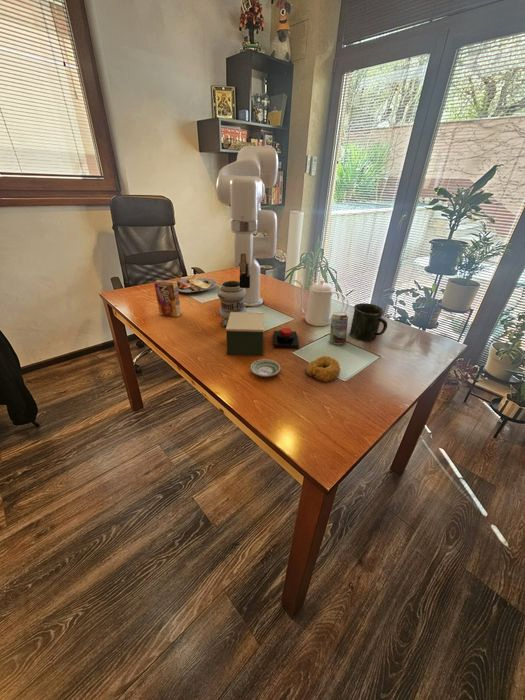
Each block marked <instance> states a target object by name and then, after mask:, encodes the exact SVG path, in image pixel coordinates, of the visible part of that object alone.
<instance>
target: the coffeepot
mask: <svg viewBox="0 0 525 700" xmlns="http://www.w3.org/2000/svg"><path fill="white" fill-rule="evenodd" d="M293 282H296V283H298V284H299V285H300V310H301V312H302V313H303V315H304V320H305V322H306V323H307V324H308V325H310V326H313V327H324V326H327V325H329V324H330V323H331V310H332V309H331V308H332V296H333V294H336V295H338V296H339V298H340V299H341V301H342V308H341V311H340V312H343V311H344V312H346V311H347V310H348V307H349V299H348V297H347V296H346V295H345V294H344V293H342V292H340V291H334V290H333V287H332V285H331V284H329V283H328V282H326V280H325V279H320V280H319V281H318V282H317V281H316V282H313V283H312V284H311V286H310V287H309V294H308V298H307V299H308V300H307V305H306V310H304V301H303V300H304V284H303V283H302V281H300V280H298V279H294V280H293ZM343 297H344V298H343ZM344 299H345V300H344ZM345 301H346V308H345V310H344V307H345Z"/></svg>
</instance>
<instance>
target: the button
mask: <svg viewBox="0 0 525 700" xmlns="http://www.w3.org/2000/svg"><path fill="white" fill-rule="evenodd" d="M280 330H281V335H282V336H291V332H292V331H293V330H292V329H291V328H289V327H282V328H281V329H280Z"/></svg>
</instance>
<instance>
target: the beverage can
mask: <svg viewBox="0 0 525 700" xmlns="http://www.w3.org/2000/svg"><path fill="white" fill-rule="evenodd" d="M330 318H331V319H330V331H329V342H331V344H334V345H343V344H344V343H347V332H348V324H349V323H348V322H349V316H348V314H347V312H345V311H342V312H341V311H336V312H333V313H332V315H331V316H330Z"/></svg>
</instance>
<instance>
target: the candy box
mask: <svg viewBox="0 0 525 700" xmlns="http://www.w3.org/2000/svg"><path fill="white" fill-rule="evenodd" d="M177 281H178V280H163V279H157V280H155V281H154V282H153V284H154V289H155V295H156V301H157V307H158V313H159V316H165V317H176V318H178V317H179V316H180V315H182V310H181V303H180V302H181V301H180V295H179V291H178V286H177Z"/></svg>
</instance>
